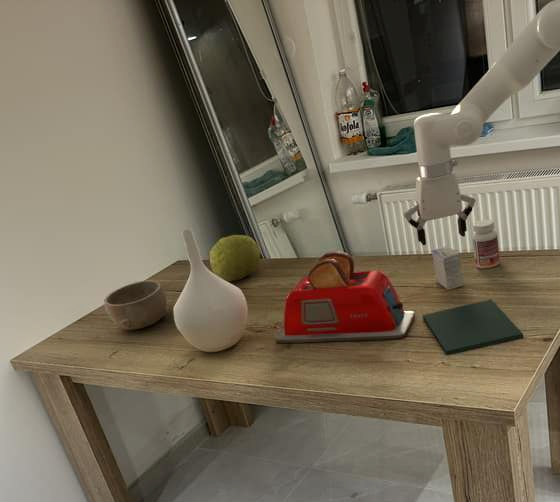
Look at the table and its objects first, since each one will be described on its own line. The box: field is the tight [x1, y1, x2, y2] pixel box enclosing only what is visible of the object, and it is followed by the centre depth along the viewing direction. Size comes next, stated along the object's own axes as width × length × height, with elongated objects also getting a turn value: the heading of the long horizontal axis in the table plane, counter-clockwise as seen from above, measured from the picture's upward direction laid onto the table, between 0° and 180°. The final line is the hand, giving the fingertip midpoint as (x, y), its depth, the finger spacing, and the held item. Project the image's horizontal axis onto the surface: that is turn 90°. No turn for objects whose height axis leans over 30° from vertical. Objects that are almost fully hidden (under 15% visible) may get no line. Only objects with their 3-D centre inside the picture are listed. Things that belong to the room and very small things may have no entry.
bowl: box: [103, 280, 167, 331], centre depth 196 cm, size 17×18×10 cm
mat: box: [422, 299, 524, 356], centre depth 148 cm, size 16×20×1 cm
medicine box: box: [431, 245, 464, 291], centre depth 171 cm, size 8×4×9 cm, turn 9°
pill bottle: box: [472, 219, 501, 269], centre depth 176 cm, size 6×6×11 cm
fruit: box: [209, 234, 261, 283], centre depth 213 cm, size 16×14×15 cm
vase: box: [173, 228, 249, 353], centre depth 166 cm, size 18×18×30 cm
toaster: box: [274, 251, 416, 344], centre depth 158 cm, size 32×13×19 cm, turn 68°
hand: (442, 239), depth 167 cm, fingers open, 9 cm apart
